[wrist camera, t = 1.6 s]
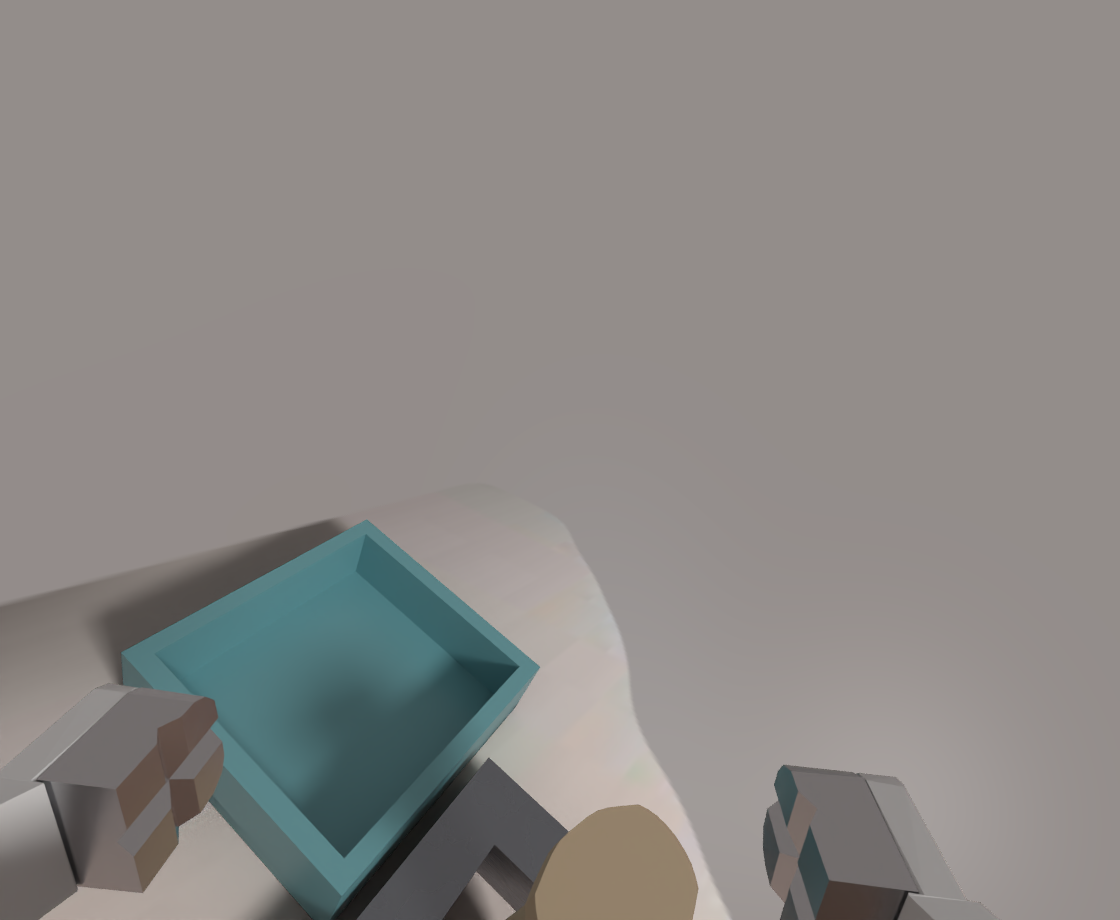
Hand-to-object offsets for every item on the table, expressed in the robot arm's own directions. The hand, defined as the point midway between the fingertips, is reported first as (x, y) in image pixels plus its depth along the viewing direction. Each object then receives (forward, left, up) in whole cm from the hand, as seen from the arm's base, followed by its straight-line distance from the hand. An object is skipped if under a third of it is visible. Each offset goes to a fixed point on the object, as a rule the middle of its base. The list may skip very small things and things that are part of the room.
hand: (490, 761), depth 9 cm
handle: (+5, +7, -28) cm, 30 cm away
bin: (-11, +12, -28) cm, 32 cm away
